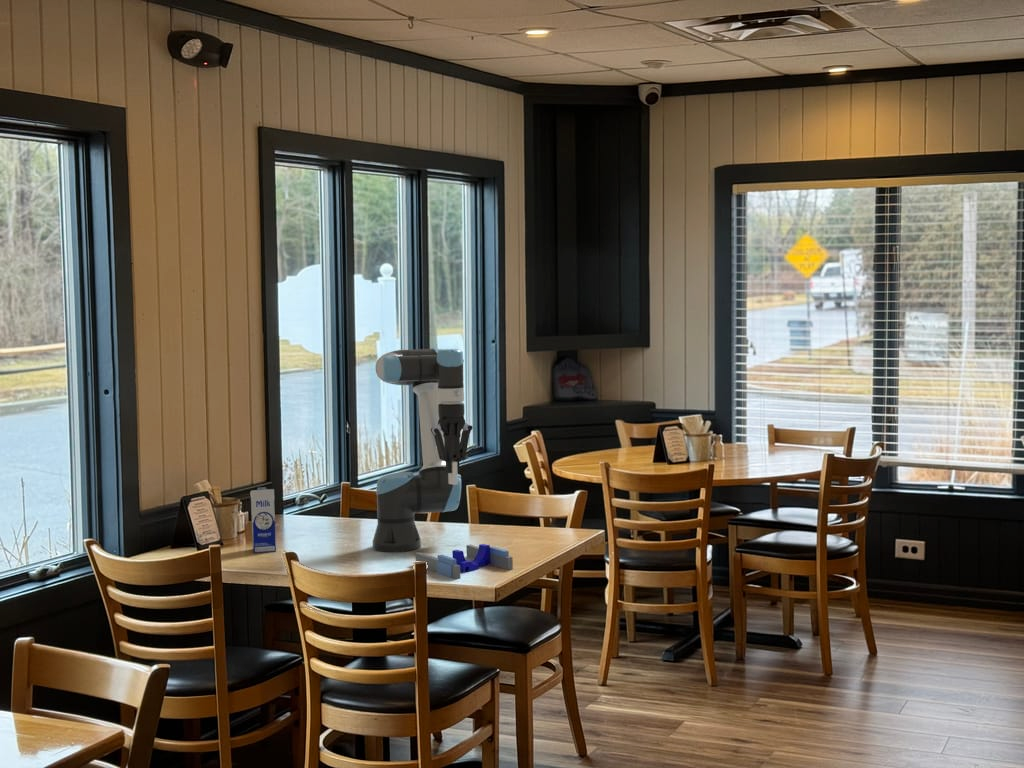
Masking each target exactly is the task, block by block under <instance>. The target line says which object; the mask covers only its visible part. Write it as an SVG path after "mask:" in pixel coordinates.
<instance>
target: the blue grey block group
mask: <svg viewBox="0 0 1024 768" xmlns="http://www.w3.org/2000/svg"><path fill="white" fill-rule="evenodd" d="M465 549H466V557H467V558H470V559H472V560H473V559H474V558H475V557H476V555H477V553H478V550H479V546H478V545H477V546H476V545H472V544H467V545H466V548H465ZM509 554H510V551H509V550H506V549H503V548H500V547H496V546H490V566H494V567H496V568H497V567H498V568H500V569H505V570H507V571H510V570H514V569H513V568H514V567H513V566H514V565H513V564H514V563H513V562H514V561H513V557H512V556H509ZM416 561H425V562H427V565H428V569H427V570H429V569H430V571H432V570H433V571H432V572H436V573H437V574H439V575H442V576H445V577H448V578H453V579H454V580H456V578H458V579H461V572H460V565H457V564H456V559H454V558H453V557H451V556H447V555H445V554H437V557H435V556H432V555H429V554H426V553H423V552H415V562H416Z"/></svg>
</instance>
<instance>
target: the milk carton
mask: <svg viewBox="0 0 1024 768" xmlns="http://www.w3.org/2000/svg"><path fill="white" fill-rule="evenodd" d="M249 494H250V508H251V509H250V510H251V511H250V512H251V513H250V514H251V538H252V540H251V541H252V551H253V554H259V553H260V554H261V553H275V552H277V546H276V545H277V543H276V541H277V540H276V515H275V511H276V510H275V489H274V488H270V489H267V487H266V486H262V487H257V489H253V490H250V493H249Z"/></svg>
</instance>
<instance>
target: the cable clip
mask: <svg viewBox="0 0 1024 768" xmlns="http://www.w3.org/2000/svg"><path fill="white" fill-rule="evenodd" d="M478 547H479V550H478V553H477V555H476V557H475V558H474V559H472V560H471V561H469V560H466V557H465V554H464V550H459V549H454V550H451V551H452V553H451V554H452V558H454V559H456V564H457V565H460V573H462V574H465V573H469V572H473V571H477V570H480V568H482V567H483V568H484V567H487V566H491V564H490V547H491V546H490V545H489V544H485V543H480V544H478Z"/></svg>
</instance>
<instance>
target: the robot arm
mask: <svg viewBox="0 0 1024 768" xmlns="http://www.w3.org/2000/svg"><path fill="white" fill-rule="evenodd" d="M463 353H464V352H463V351H462V349H459V348H445V349H444V348H432V347H431V348H421V349H398V350H393V351H390V352H387V353H384V354H382V355H381V356H380V357H378V359H377V360H376V363H375V372H376V375H377V377H378V378H379V379H380V380H381V381H382V382H384V383H386V384H387V383H388V384H390V385H394V386H412V392H414V394H415V395H417V398H418V401H417V402H418V413H419V425H420V426H419V427H420V441H421V442H420V443H421V454H422V455H421V456H422V467H421V468H420V469H419V470H418V476H417V475H416V476H415V475H414V473H413V472H412V471H401V472H400V471H399V472H393V473H389V474H385V475H383V476H381V477H379V478H378V479H377V481H376V492H375V494H376V505H377V511H376V513H377V516H376V517H377V525H376V528H375V532H374V534H373V535H374V536H373V539H372V549H373V550H374V551H377V552H378V551H379V552H385V553H386V552H387V553H388V552H389V553H390V552H391V553H397V552H408V551H413V550H417V549H420V548H421V547H422V543H421V541H422V540H421V537H420V534H419V531H418V528H417V526H416V522H415V514H426V513H427V514H428V513H445V512H452V511H456V510H458V507H459V505H460V501H461V495H462V476H461V474H459V473H460V470H461V469H460V468H461V467H460V466H461V465H460V462H462V460H463V459H464V460H465V459H466V456H467V451H468V445H469V441H470V434H471V431H472V430H473V426H472V425H470V424H468V423H467V422H466V419H465V404H464V401H465V390H464V387H465V386H464V385H465V384H464V362H465V360H464V356H463V355H464V354H463Z"/></svg>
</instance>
